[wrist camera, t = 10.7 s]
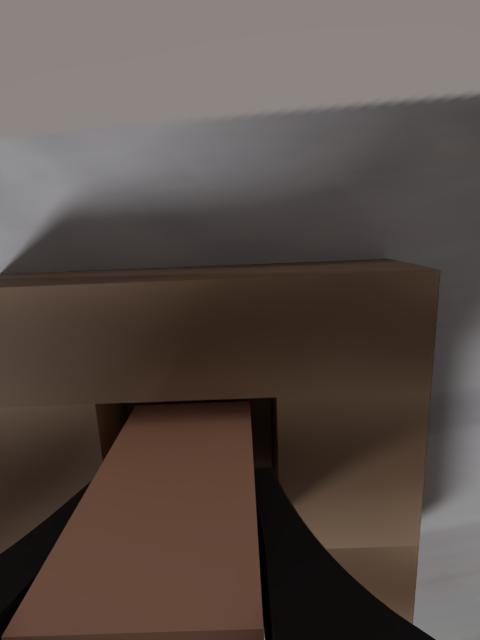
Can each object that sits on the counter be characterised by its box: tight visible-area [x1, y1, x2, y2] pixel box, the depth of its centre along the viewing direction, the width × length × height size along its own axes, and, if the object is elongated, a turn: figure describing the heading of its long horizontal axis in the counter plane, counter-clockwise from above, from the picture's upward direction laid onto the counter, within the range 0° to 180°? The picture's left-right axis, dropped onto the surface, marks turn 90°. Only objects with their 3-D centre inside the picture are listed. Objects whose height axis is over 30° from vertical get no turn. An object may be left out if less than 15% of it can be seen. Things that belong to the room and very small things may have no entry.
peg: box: [1, 401, 264, 640], centre depth 10 cm, size 4×4×8 cm
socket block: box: [0, 259, 440, 637], centre depth 15 cm, size 13×15×4 cm
